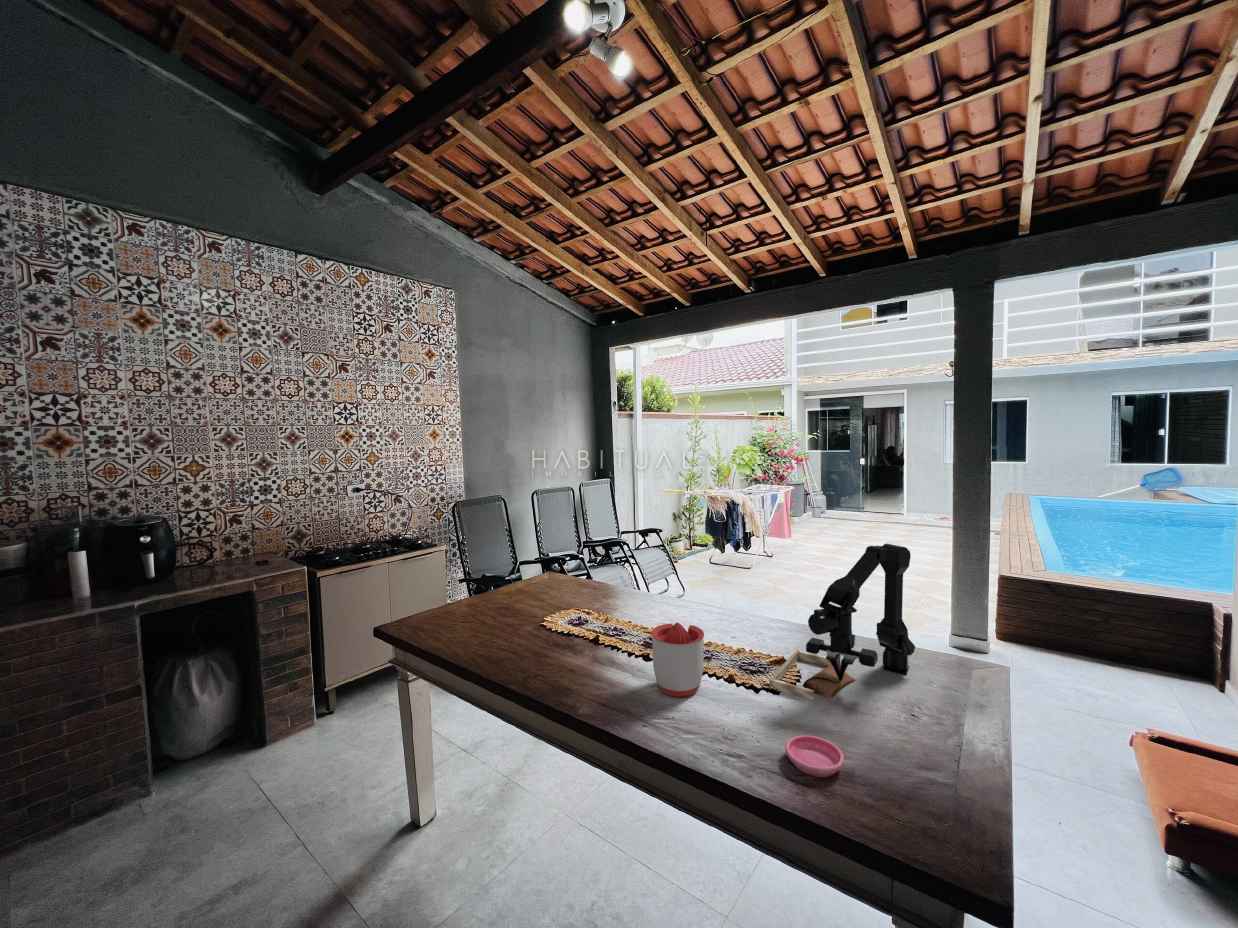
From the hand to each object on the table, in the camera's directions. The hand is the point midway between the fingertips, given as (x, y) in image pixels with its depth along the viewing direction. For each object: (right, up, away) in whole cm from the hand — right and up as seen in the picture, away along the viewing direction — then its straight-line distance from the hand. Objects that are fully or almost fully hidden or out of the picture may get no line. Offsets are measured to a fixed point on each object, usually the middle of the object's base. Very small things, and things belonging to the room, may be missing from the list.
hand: (840, 679), depth 149 cm
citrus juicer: (-48, -3, +2) cm, 48 cm away
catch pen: (-8, -2, +7) cm, 11 cm away
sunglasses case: (-2, -3, +2) cm, 4 cm away
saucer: (-21, -5, -34) cm, 40 cm away
